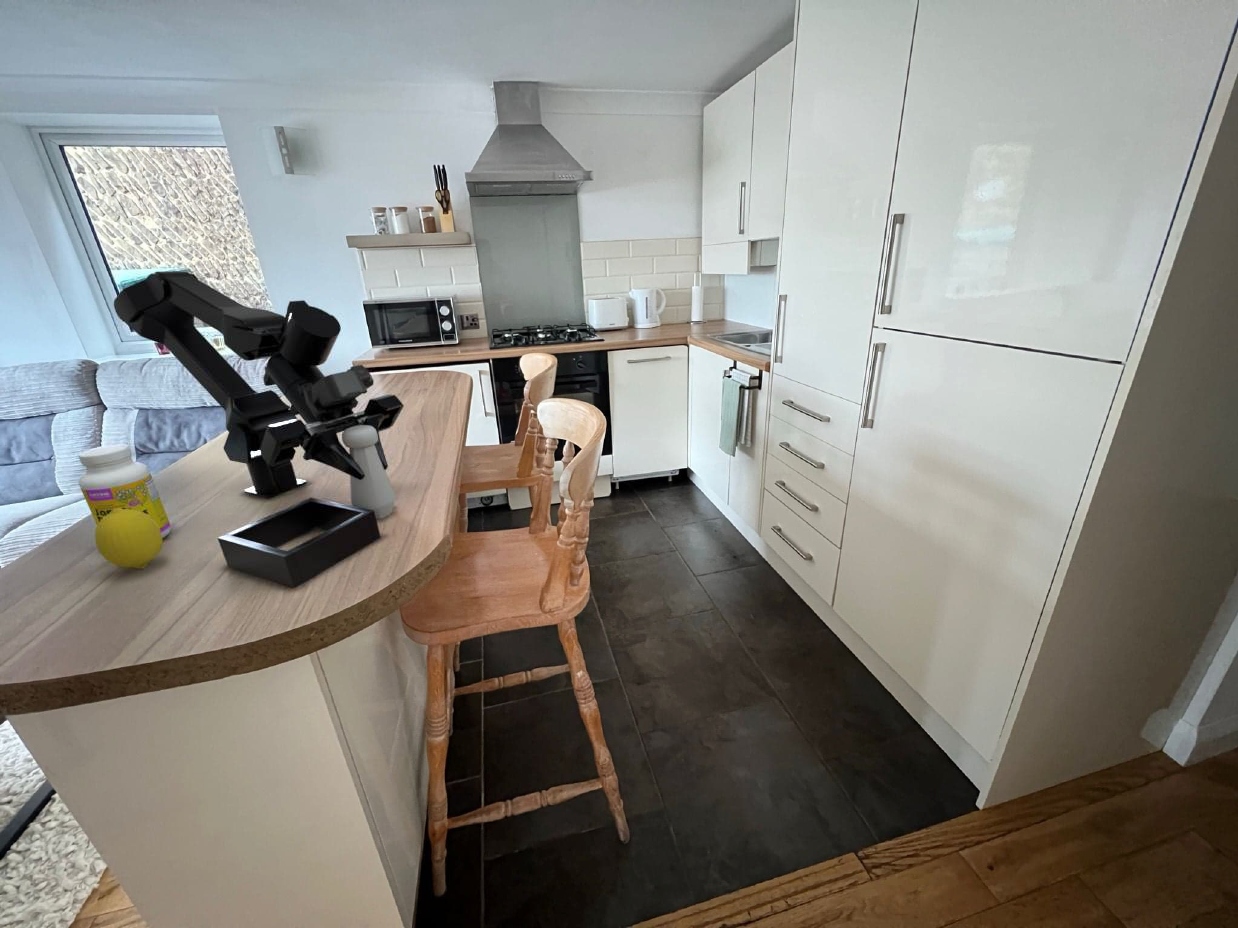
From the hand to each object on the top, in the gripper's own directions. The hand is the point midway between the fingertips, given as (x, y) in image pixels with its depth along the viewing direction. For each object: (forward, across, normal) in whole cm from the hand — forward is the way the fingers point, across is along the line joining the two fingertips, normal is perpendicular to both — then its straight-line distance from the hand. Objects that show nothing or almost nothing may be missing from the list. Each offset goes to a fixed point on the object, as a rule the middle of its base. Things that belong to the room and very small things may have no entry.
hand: (374, 473), depth 70 cm
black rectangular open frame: (+4, -11, +5) cm, 13 cm away
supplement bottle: (-13, -19, +22) cm, 32 cm away
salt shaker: (+4, 0, +6) cm, 7 cm away
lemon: (-6, -22, +16) cm, 28 cm away
